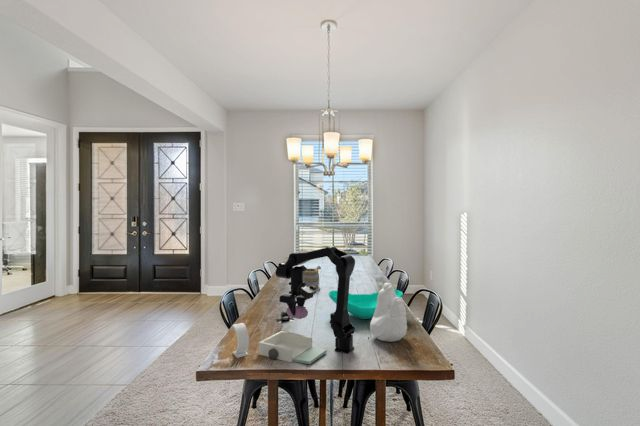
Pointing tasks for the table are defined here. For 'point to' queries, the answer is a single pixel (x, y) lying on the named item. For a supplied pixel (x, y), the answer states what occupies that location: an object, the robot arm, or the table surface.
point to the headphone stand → (241, 340)
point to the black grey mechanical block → (284, 314)
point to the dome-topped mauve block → (298, 312)
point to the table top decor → (362, 303)
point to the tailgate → (310, 355)
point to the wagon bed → (284, 346)
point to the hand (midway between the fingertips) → (297, 314)
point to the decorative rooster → (389, 316)
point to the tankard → (311, 278)
